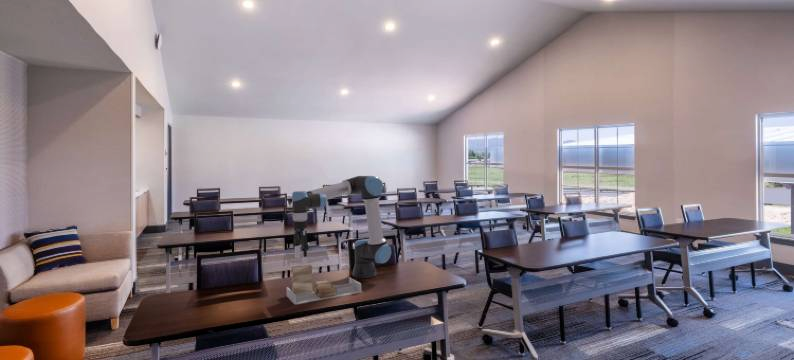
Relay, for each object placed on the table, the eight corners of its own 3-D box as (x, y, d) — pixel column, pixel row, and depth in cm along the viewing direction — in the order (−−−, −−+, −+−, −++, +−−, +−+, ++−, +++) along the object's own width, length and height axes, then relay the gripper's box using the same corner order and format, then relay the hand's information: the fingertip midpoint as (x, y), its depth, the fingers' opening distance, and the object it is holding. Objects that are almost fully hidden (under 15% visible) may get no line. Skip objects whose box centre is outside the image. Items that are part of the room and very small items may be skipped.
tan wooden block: (292, 298, 229) (291, 267, 228) (310, 295, 233) (309, 264, 233) (294, 300, 226) (293, 268, 225) (312, 297, 230) (311, 265, 230)
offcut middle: (315, 289, 237) (314, 286, 237) (327, 287, 241) (327, 283, 241) (322, 294, 228) (322, 290, 228) (335, 292, 232) (335, 288, 232)
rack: (286, 298, 234) (286, 287, 233) (350, 287, 251) (350, 277, 251) (294, 306, 220) (294, 295, 219) (361, 294, 237) (361, 283, 237)
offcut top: (315, 285, 238) (315, 281, 238) (327, 283, 241) (327, 280, 241) (319, 289, 230) (319, 286, 230) (331, 288, 232) (330, 284, 232)
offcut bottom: (313, 292, 239) (313, 289, 239) (327, 290, 242) (327, 286, 242) (320, 298, 228) (320, 294, 228) (335, 295, 232) (335, 292, 232)
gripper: (286, 218, 237) (288, 256, 238) (299, 223, 215) (300, 265, 216) (300, 217, 240) (301, 255, 241) (314, 222, 218) (315, 264, 219)
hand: (301, 260), depth 229 cm, fingers open, 13 cm apart
